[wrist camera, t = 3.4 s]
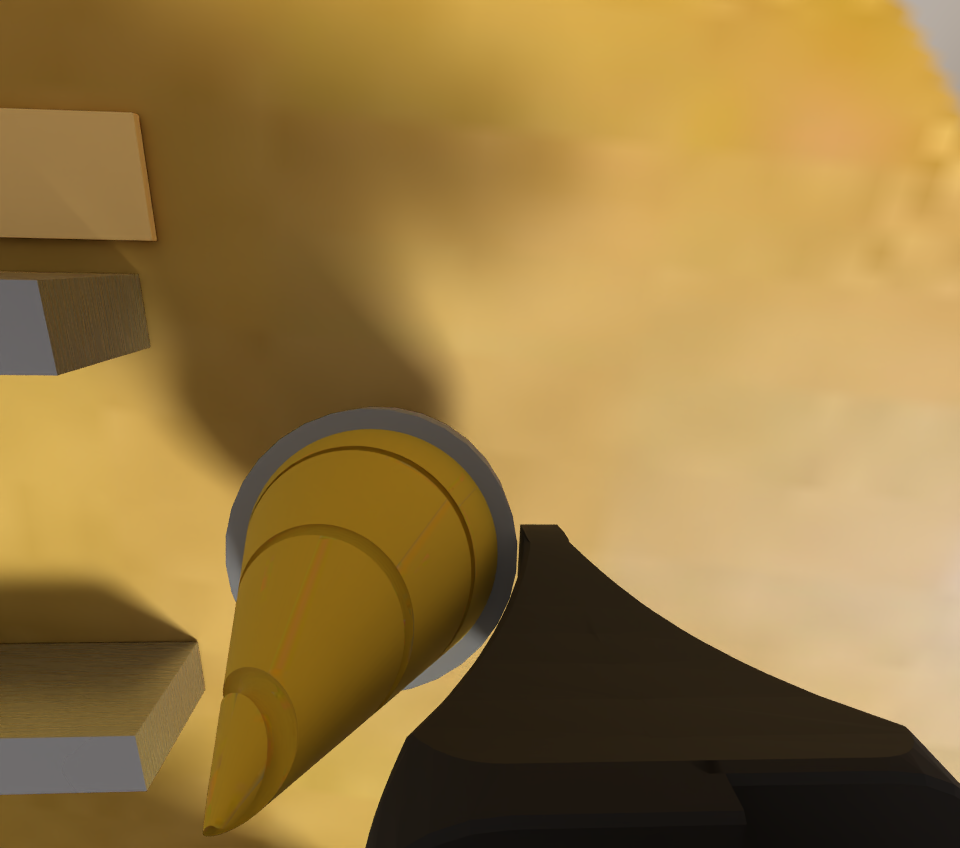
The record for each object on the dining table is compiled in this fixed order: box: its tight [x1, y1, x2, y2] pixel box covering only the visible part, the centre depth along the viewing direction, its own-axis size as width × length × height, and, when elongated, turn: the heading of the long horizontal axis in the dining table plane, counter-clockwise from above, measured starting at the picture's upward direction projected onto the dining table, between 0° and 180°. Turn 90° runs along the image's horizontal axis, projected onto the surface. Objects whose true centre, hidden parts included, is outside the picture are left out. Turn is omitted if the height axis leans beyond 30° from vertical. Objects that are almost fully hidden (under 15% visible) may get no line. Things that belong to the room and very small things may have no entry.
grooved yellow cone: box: [203, 407, 517, 836], centre depth 9 cm, size 5×5×10 cm
